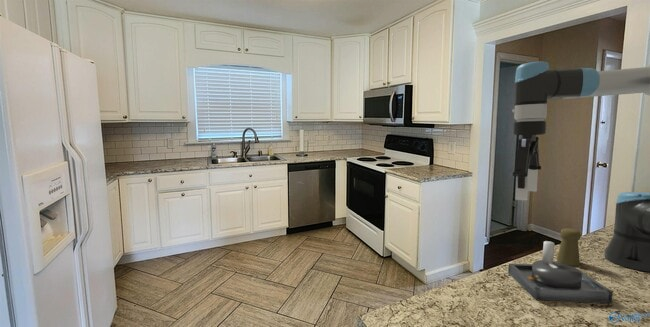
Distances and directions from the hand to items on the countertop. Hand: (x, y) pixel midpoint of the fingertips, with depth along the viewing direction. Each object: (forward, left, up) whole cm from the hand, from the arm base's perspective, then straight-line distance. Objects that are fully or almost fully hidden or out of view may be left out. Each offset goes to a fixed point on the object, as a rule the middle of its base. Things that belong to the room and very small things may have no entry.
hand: (526, 195), depth 89 cm
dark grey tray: (-7, +4, -25) cm, 26 cm away
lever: (-7, +4, -23) cm, 24 cm away
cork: (-21, -13, -25) cm, 35 cm away
